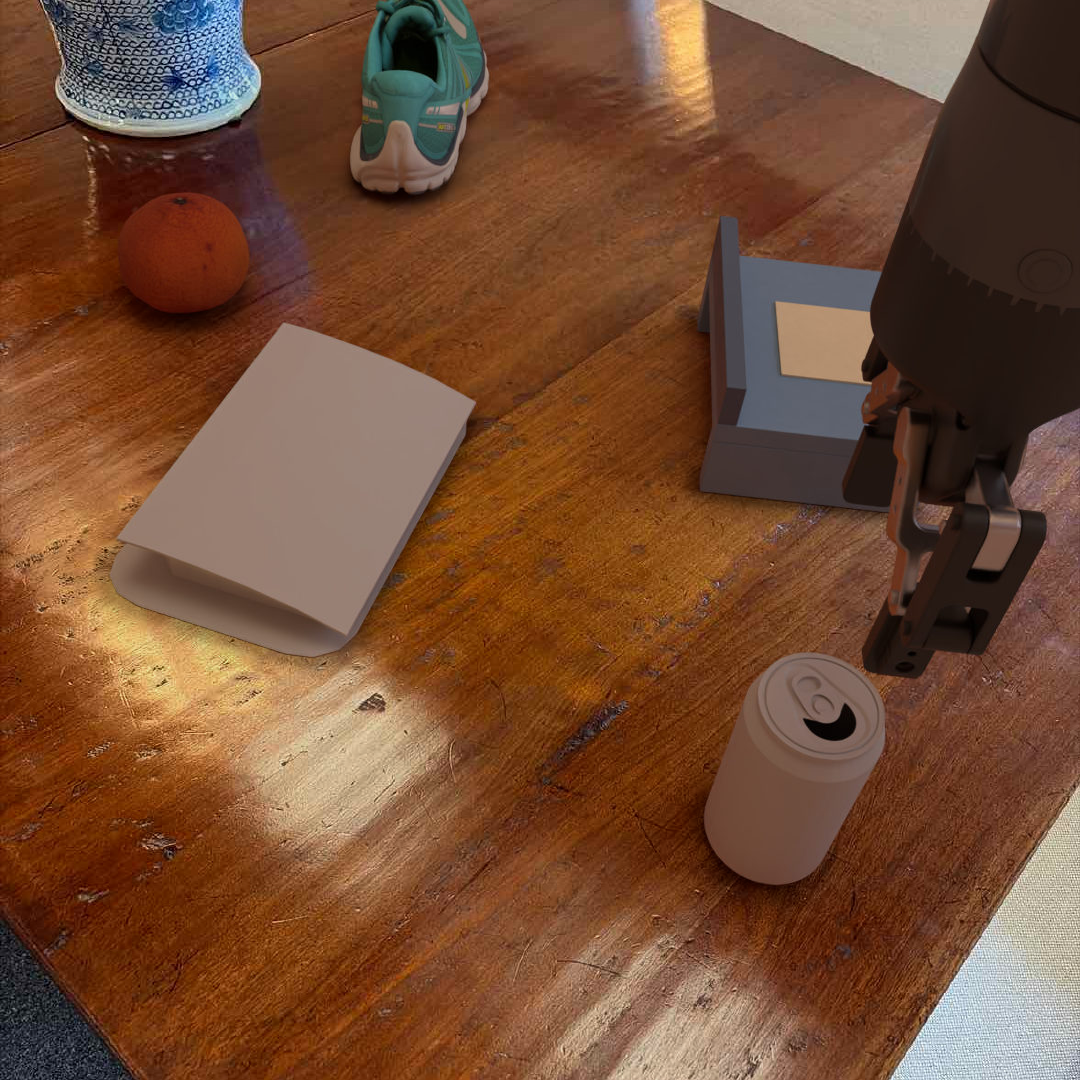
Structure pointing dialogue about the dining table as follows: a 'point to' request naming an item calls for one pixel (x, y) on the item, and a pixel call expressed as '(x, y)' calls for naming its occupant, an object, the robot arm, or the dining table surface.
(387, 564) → the book
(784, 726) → the beverage can
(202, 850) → the dining table surface
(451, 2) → the running shoe
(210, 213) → the fruit
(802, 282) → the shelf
